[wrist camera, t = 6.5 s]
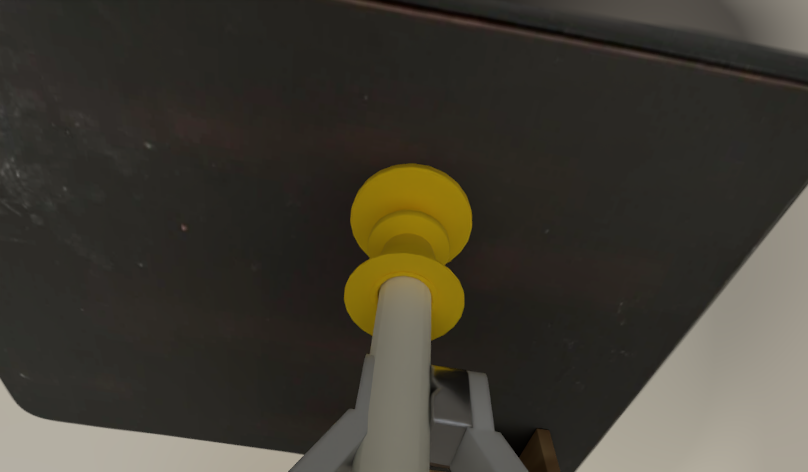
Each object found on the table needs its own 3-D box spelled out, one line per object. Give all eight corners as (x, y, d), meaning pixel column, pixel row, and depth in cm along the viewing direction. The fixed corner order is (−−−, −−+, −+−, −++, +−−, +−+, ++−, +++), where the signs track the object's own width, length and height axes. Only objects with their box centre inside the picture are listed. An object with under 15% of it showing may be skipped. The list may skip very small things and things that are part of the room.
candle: (478, 164, 15) (741, 1165, 2) (465, 269, 18) (550, 985, 5) (348, 160, 16) (-84, 1049, 3) (355, 263, 18) (169, 936, 5)
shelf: (549, 429, 35) (569, 504, 30) (527, 463, 38) (542, 535, 33) (374, 405, 34) (365, 476, 29) (367, 441, 38) (358, 511, 33)
